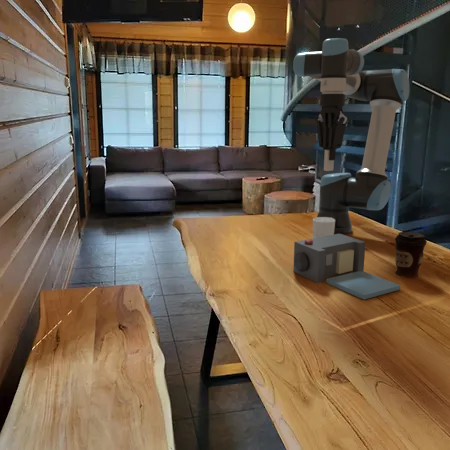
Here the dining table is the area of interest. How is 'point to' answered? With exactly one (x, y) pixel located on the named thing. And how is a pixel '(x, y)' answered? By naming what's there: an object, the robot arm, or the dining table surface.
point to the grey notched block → (328, 256)
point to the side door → (363, 284)
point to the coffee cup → (409, 253)
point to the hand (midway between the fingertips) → (328, 170)
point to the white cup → (323, 226)
